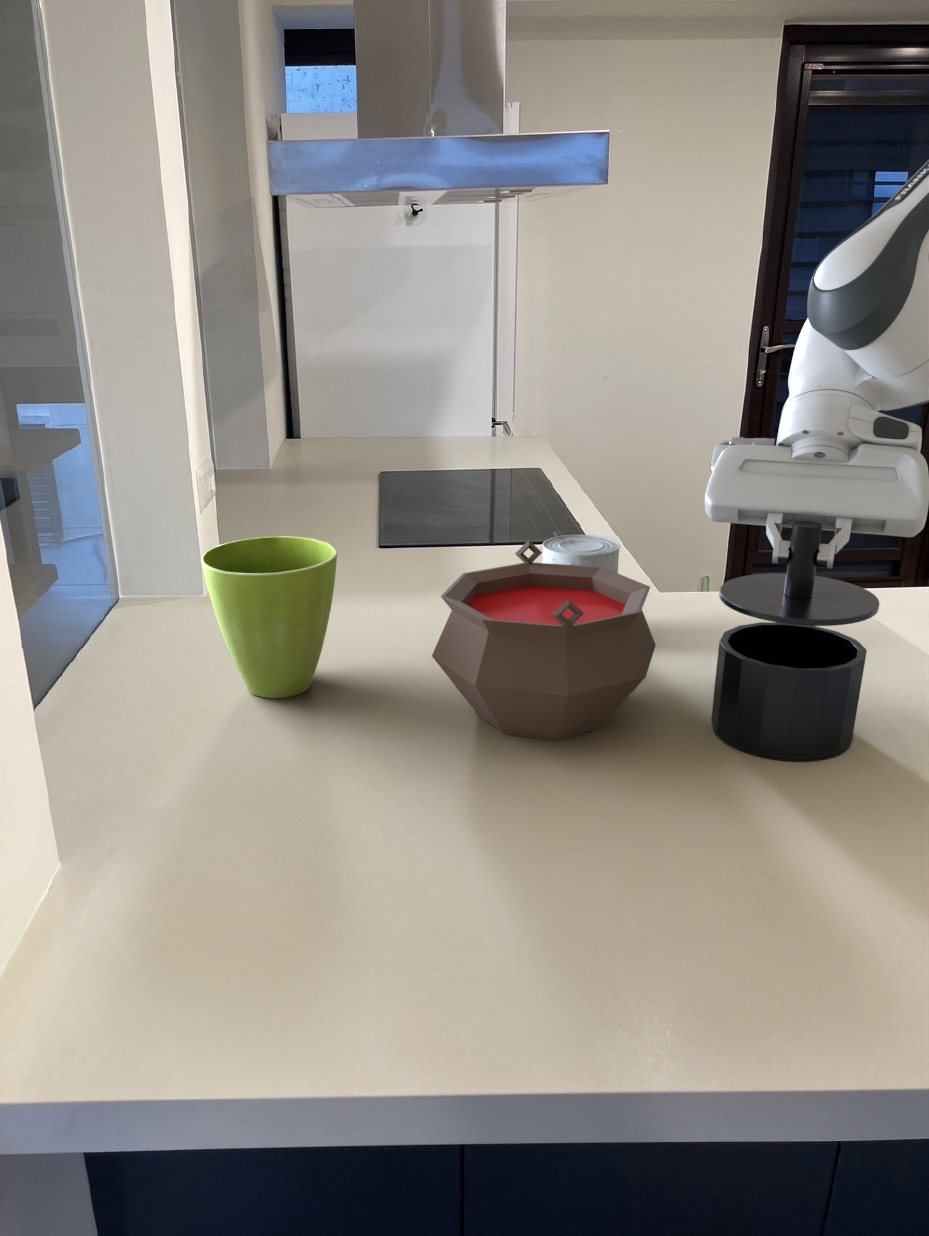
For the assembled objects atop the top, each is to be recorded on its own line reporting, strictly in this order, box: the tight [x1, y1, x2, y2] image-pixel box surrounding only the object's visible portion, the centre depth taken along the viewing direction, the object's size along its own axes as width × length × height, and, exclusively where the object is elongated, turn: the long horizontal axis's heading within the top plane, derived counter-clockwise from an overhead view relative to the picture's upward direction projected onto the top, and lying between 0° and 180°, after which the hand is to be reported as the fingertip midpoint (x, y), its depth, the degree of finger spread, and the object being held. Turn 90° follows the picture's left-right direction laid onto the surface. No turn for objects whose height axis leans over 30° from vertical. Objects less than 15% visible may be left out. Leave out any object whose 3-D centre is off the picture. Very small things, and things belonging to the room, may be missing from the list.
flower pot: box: [200, 535, 338, 699], centre depth 115 cm, size 15×15×16 cm
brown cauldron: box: [431, 539, 657, 741], centre depth 107 cm, size 24×24×16 cm
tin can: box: [541, 534, 621, 574], centre depth 128 cm, size 10×10×12 cm
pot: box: [710, 621, 868, 763], centre depth 102 cm, size 14×14×10 cm
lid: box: [718, 521, 880, 627], centre depth 97 cm, size 15×15×8 cm
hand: (802, 563), depth 96 cm, fingers closed on lid, 2 cm apart
